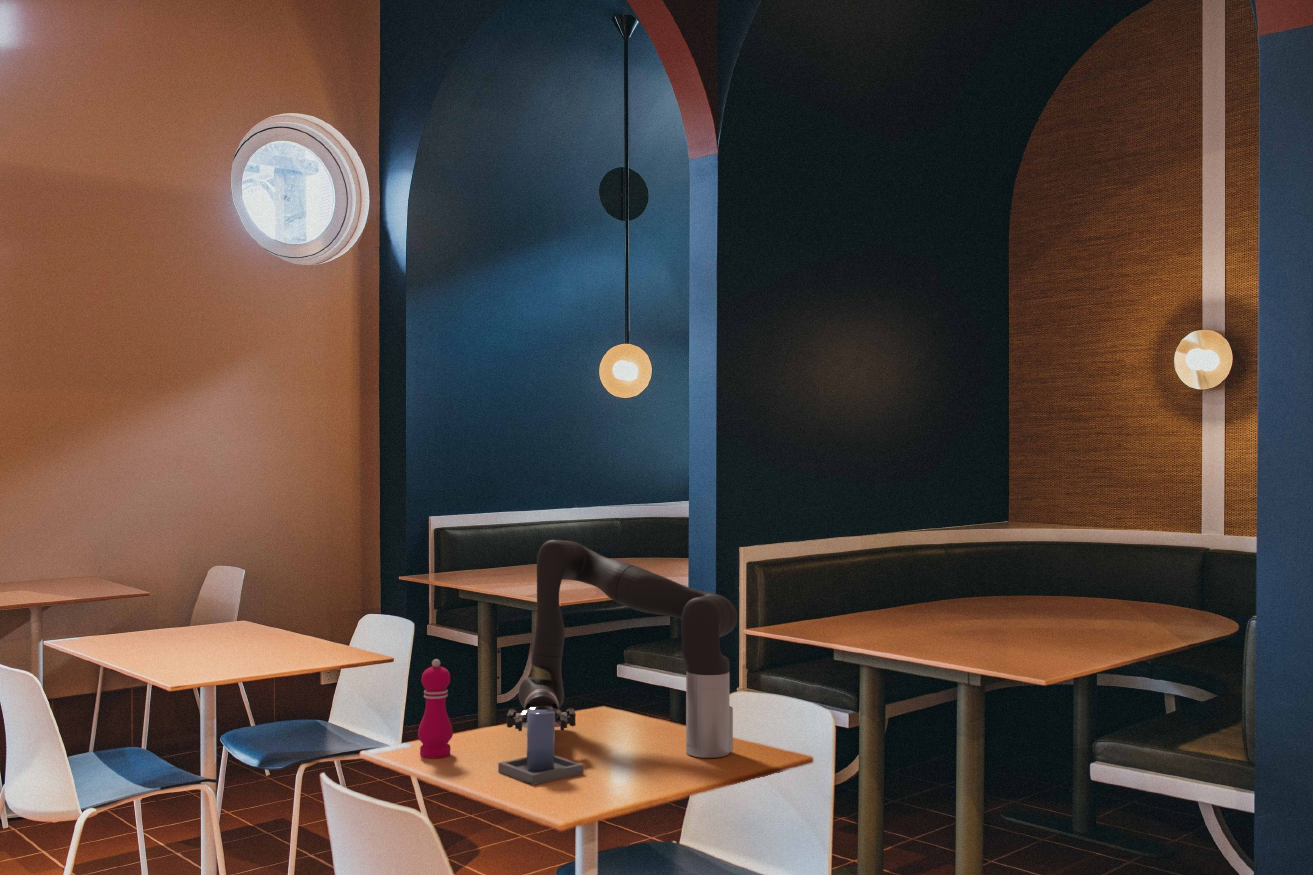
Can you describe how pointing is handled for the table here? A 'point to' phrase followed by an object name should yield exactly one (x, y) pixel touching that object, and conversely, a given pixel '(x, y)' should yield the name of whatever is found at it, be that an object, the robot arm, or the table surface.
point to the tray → (520, 772)
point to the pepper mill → (435, 713)
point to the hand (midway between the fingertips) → (541, 725)
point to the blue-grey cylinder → (540, 740)
